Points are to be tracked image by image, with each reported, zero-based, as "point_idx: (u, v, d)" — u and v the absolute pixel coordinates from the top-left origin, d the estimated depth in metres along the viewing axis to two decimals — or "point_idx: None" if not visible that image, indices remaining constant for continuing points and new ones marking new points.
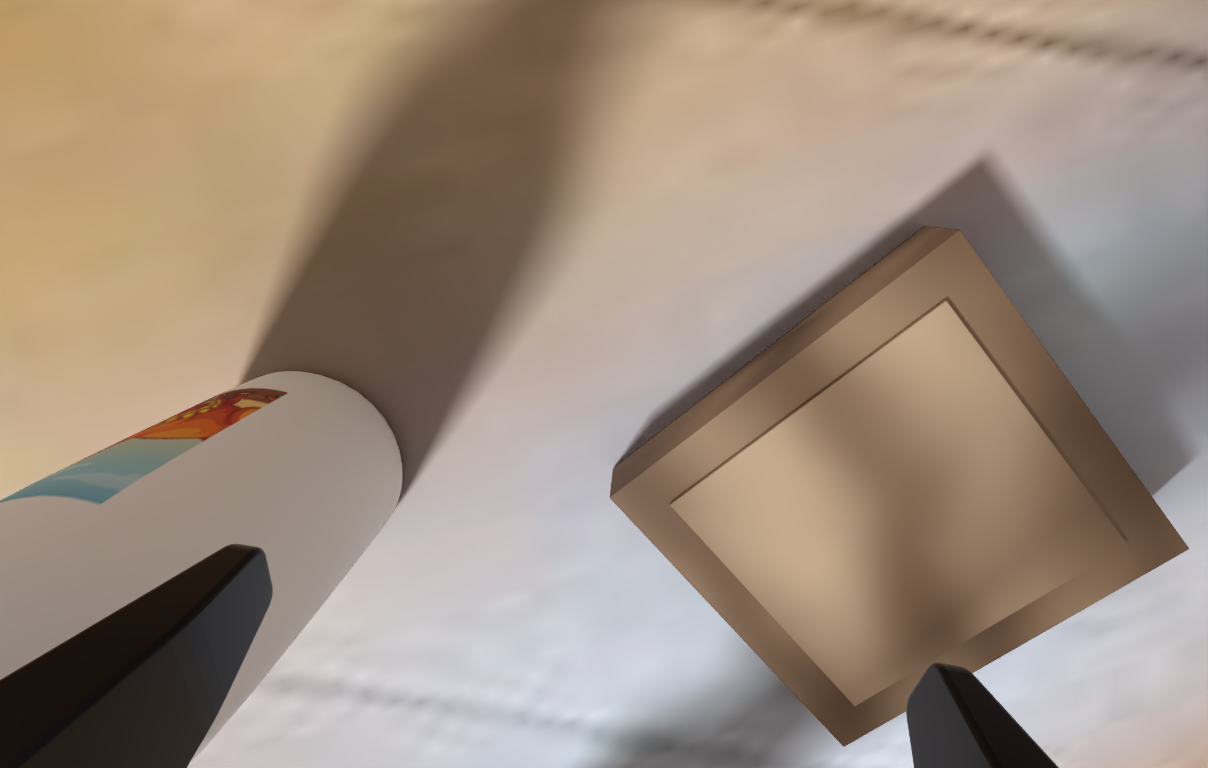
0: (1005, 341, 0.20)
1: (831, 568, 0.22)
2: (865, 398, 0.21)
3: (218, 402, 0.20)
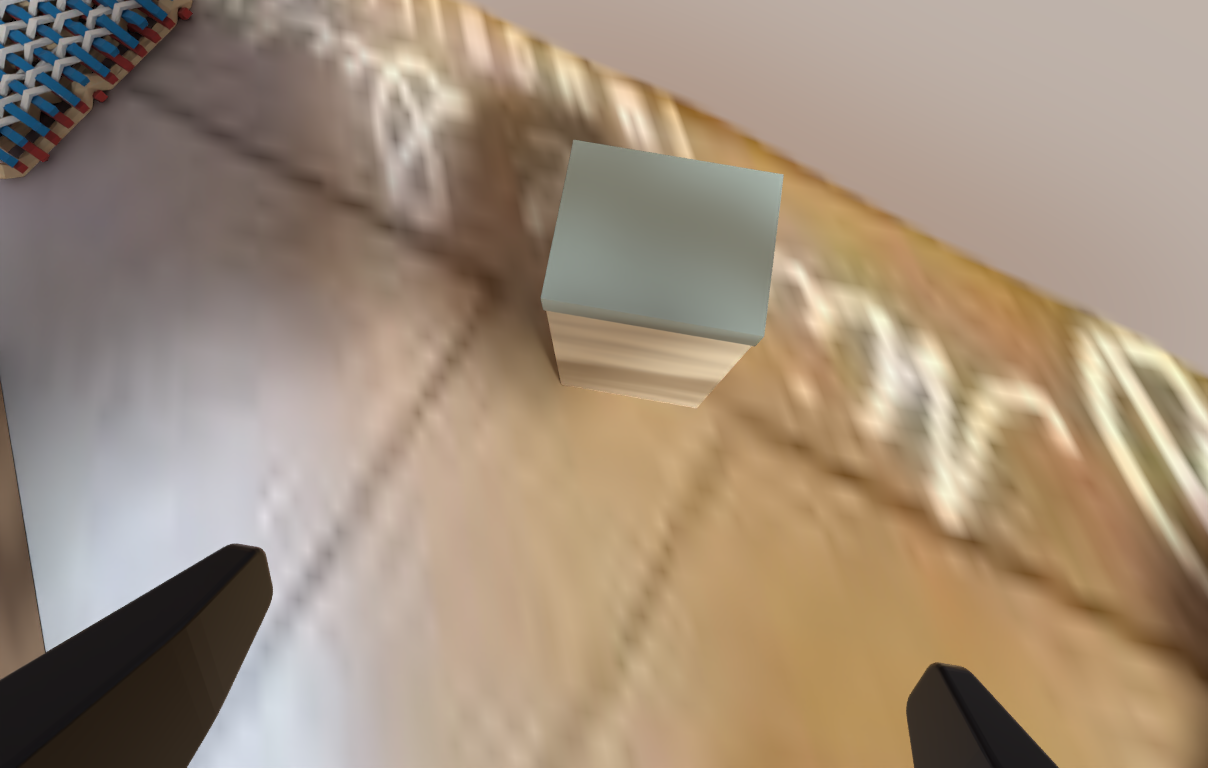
0: None
1: None
2: None
3: None
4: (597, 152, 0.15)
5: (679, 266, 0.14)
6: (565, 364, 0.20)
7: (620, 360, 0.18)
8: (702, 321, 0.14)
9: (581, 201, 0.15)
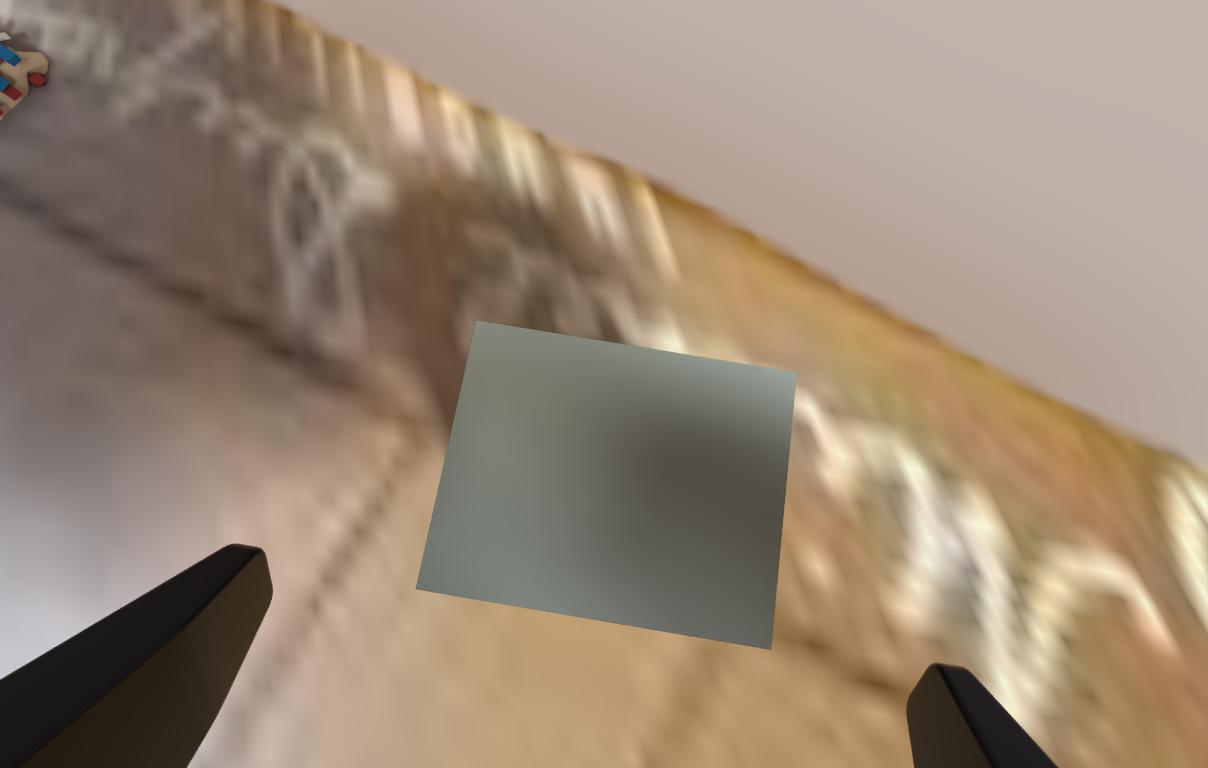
0: None
1: None
2: None
3: None
4: (512, 341, 0.10)
5: (636, 528, 0.09)
6: None
7: None
8: (673, 625, 0.09)
9: (485, 422, 0.10)
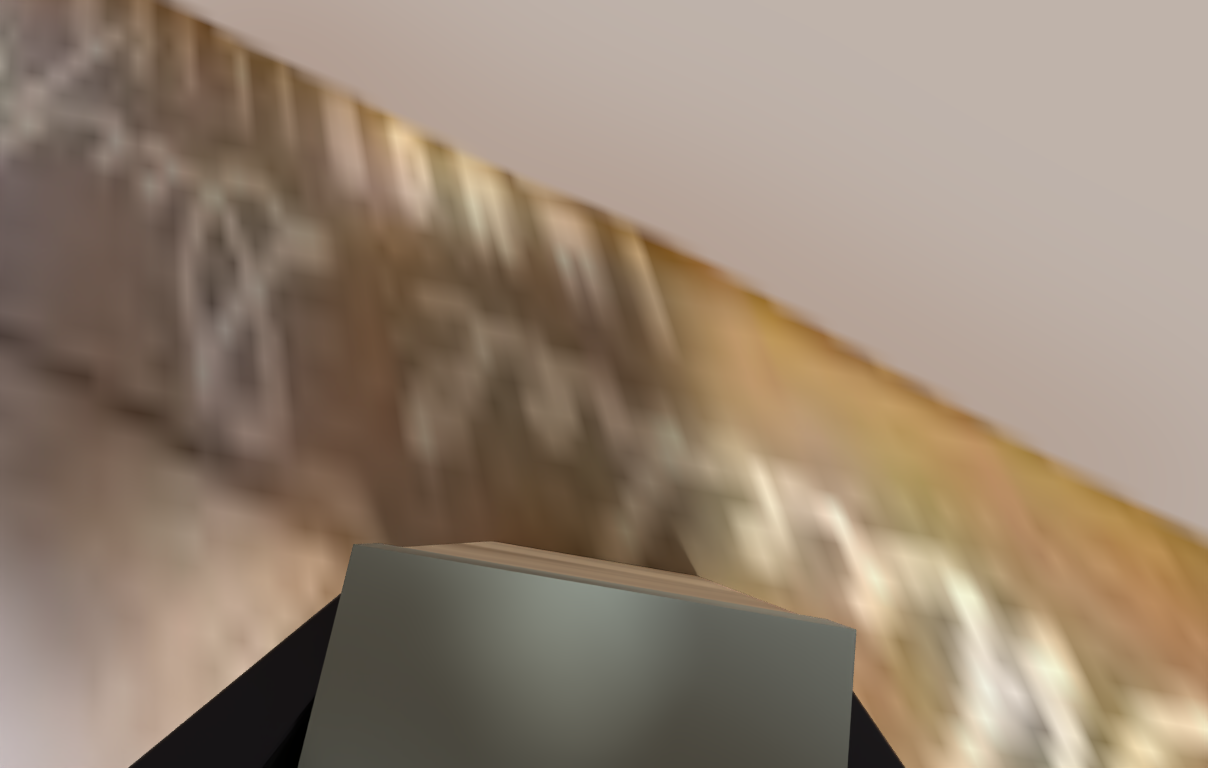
0: None
1: None
2: None
3: None
4: (408, 580, 0.06)
5: None
6: None
7: None
8: None
9: (360, 721, 0.06)
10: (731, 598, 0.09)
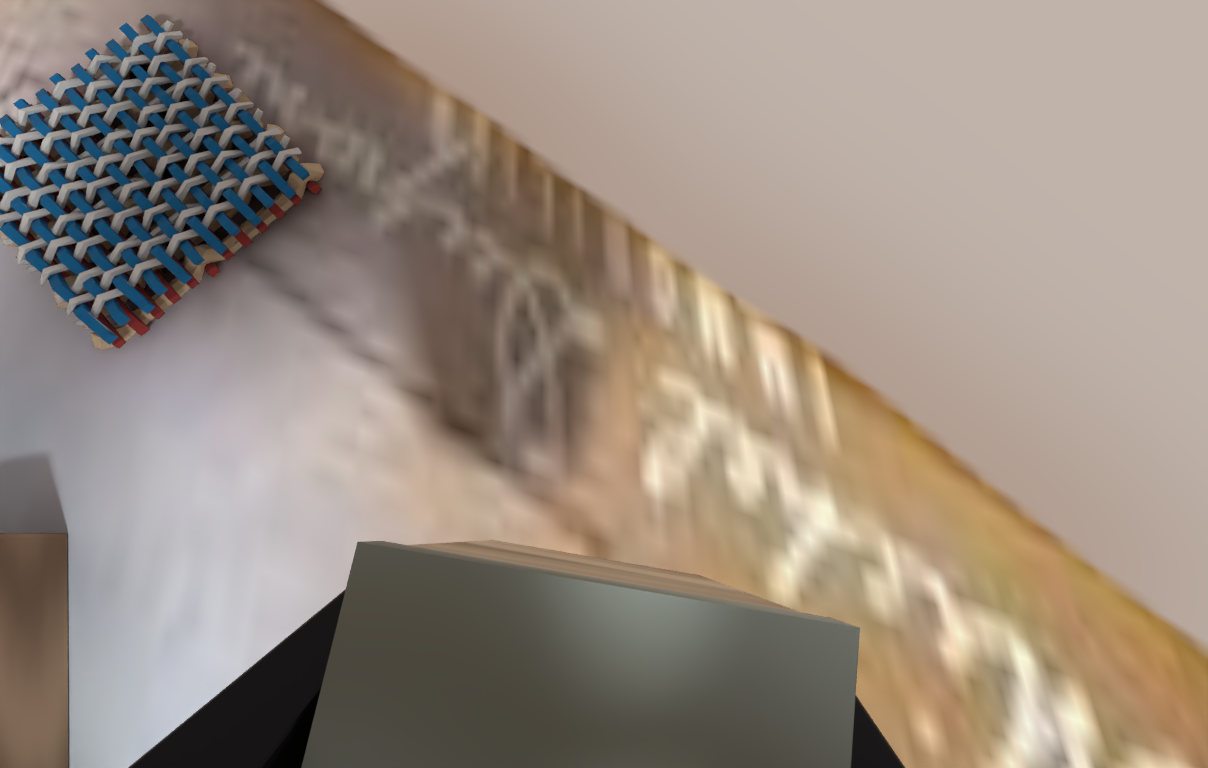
0: None
1: None
2: None
3: None
4: (412, 577, 0.06)
5: None
6: None
7: None
8: None
9: (364, 718, 0.06)
10: (734, 597, 0.09)
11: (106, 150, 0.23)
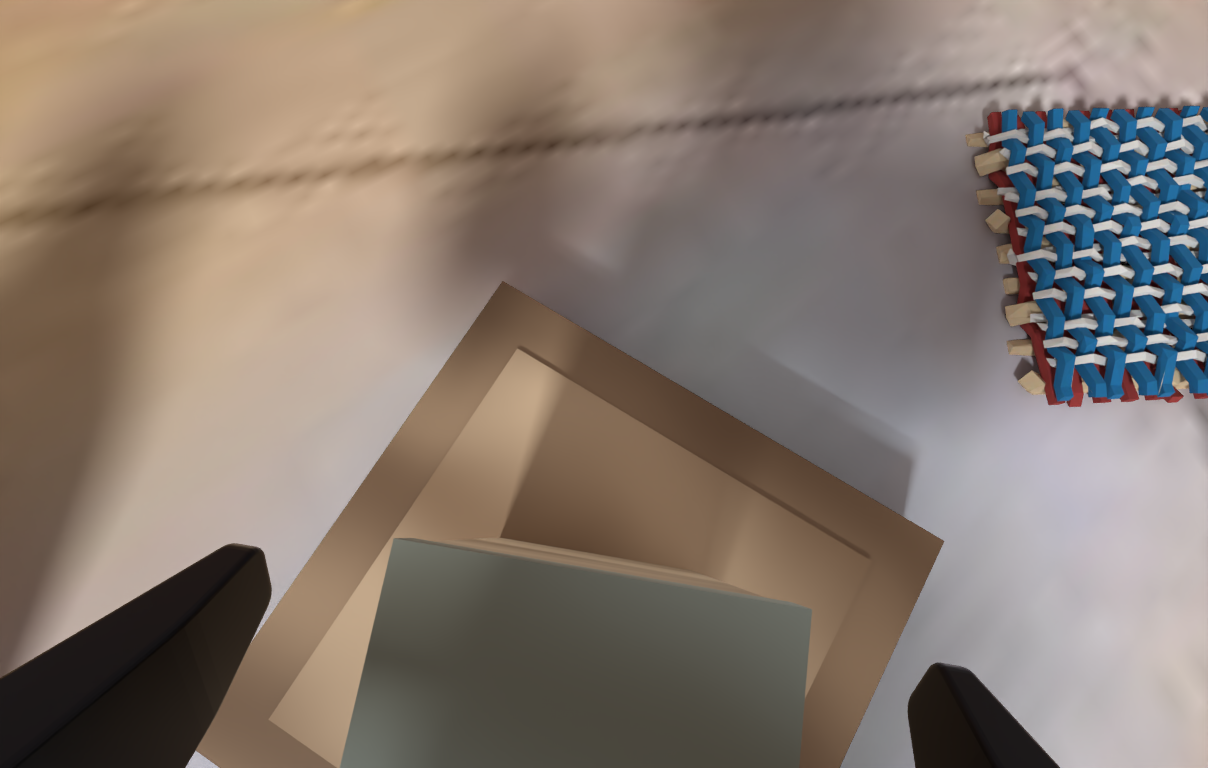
0: (601, 370, 0.18)
1: None
2: (478, 483, 0.17)
3: None
4: (439, 567, 0.08)
5: None
6: None
7: None
8: None
9: (401, 685, 0.07)
10: (714, 586, 0.10)
11: (1157, 212, 0.21)
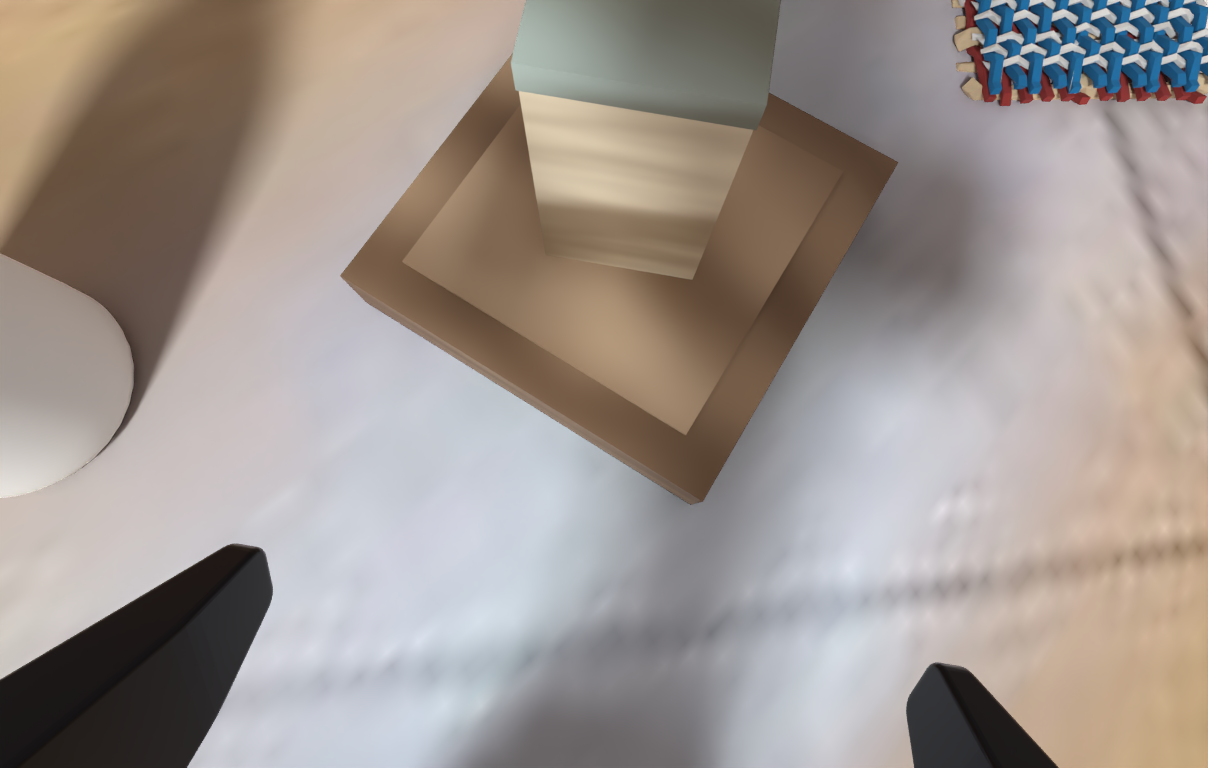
0: None
1: (587, 277, 0.21)
2: None
3: None
4: None
5: (669, 30, 0.13)
6: (547, 210, 0.18)
7: (607, 192, 0.17)
8: (696, 89, 0.12)
9: None
10: None
11: None
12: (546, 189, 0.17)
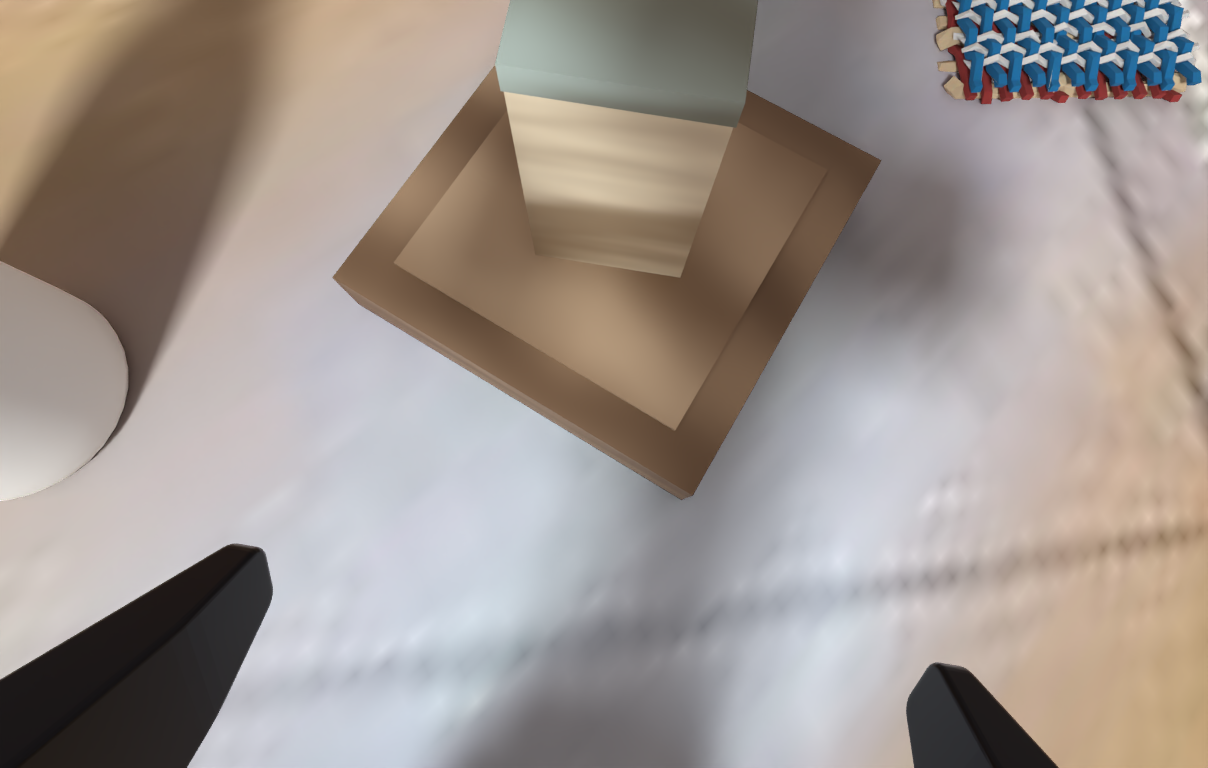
0: None
1: (576, 276, 0.21)
2: None
3: None
4: None
5: (650, 31, 0.13)
6: (535, 210, 0.18)
7: (593, 191, 0.17)
8: (676, 87, 0.13)
9: None
10: None
11: None
12: (534, 189, 0.17)
